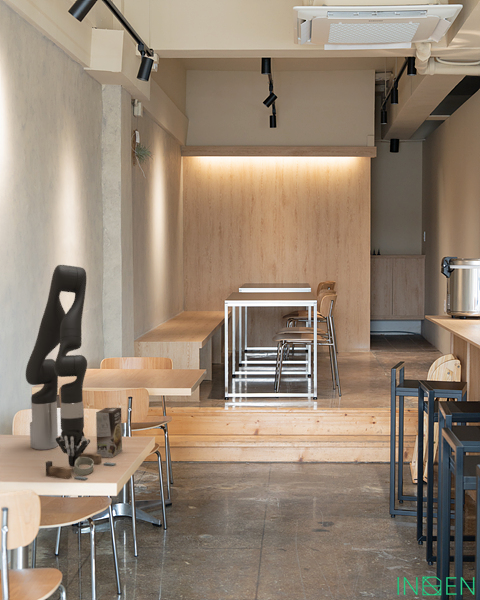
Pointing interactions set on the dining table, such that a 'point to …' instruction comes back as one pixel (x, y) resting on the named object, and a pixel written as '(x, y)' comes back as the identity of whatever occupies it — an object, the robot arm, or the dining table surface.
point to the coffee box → (109, 432)
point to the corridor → (66, 472)
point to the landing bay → (83, 478)
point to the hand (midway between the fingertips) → (73, 466)
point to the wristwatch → (82, 461)
